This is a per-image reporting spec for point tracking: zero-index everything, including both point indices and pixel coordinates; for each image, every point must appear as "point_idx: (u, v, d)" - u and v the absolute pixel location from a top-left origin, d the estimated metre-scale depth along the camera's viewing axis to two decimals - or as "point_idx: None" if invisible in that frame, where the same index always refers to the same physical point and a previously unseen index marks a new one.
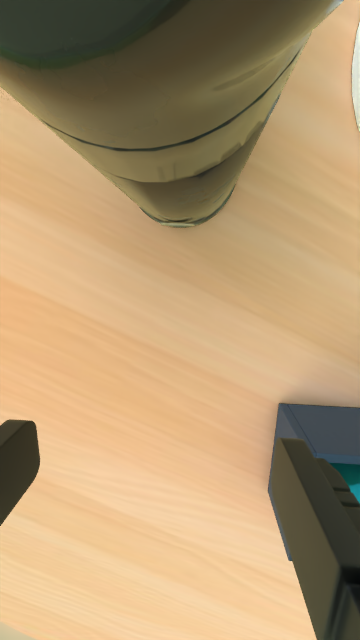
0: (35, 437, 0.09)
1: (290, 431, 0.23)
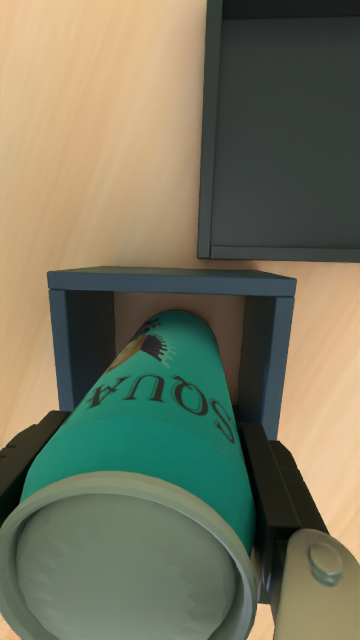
0: None
1: None
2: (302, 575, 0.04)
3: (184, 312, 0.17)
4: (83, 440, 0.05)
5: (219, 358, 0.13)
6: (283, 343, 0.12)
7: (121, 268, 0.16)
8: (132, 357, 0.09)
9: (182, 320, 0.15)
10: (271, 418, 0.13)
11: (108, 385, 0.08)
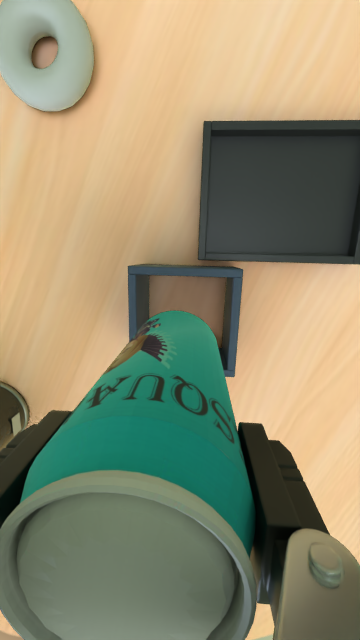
0: None
1: None
2: (302, 575, 0.04)
3: (184, 312, 0.17)
4: (84, 440, 0.05)
5: (219, 358, 0.13)
6: (238, 299, 0.25)
7: None
8: (133, 357, 0.09)
9: (182, 320, 0.15)
10: (233, 337, 0.26)
11: (109, 385, 0.08)
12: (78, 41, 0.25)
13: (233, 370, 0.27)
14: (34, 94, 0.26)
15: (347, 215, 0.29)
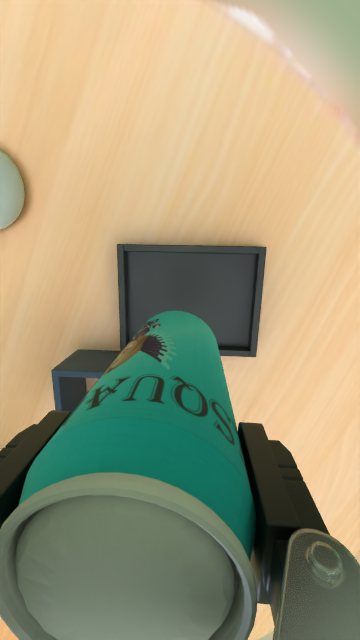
0: None
1: None
2: (302, 575, 0.04)
3: (184, 312, 0.17)
4: (82, 441, 0.05)
5: (219, 359, 0.13)
6: None
7: (85, 356, 0.34)
8: (132, 358, 0.09)
9: (182, 320, 0.15)
10: None
11: (108, 386, 0.08)
12: (7, 185, 0.30)
13: None
14: None
15: (245, 315, 0.34)
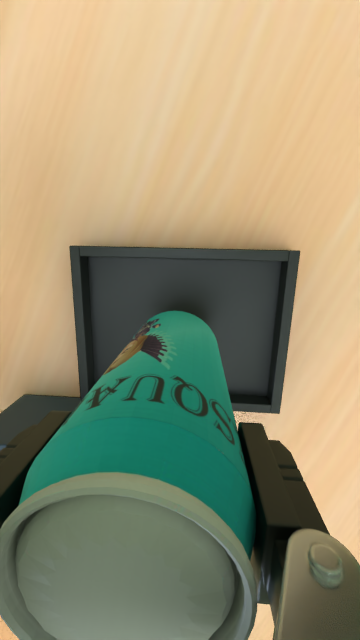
0: None
1: None
2: (302, 575, 0.04)
3: (184, 312, 0.17)
4: (83, 441, 0.05)
5: (219, 358, 0.13)
6: None
7: (29, 409, 0.24)
8: (132, 358, 0.09)
9: (182, 320, 0.15)
10: None
11: (108, 386, 0.08)
12: None
13: None
14: None
15: (264, 350, 0.23)
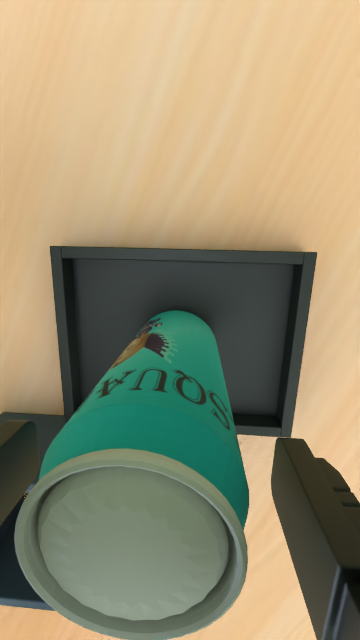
0: (35, 437, 0.09)
1: None
2: None
3: (185, 312, 0.18)
4: (96, 424, 0.06)
5: (218, 356, 0.14)
6: None
7: None
8: (137, 353, 0.10)
9: (183, 320, 0.15)
10: None
11: (116, 378, 0.08)
12: None
13: None
14: None
15: (273, 365, 0.20)
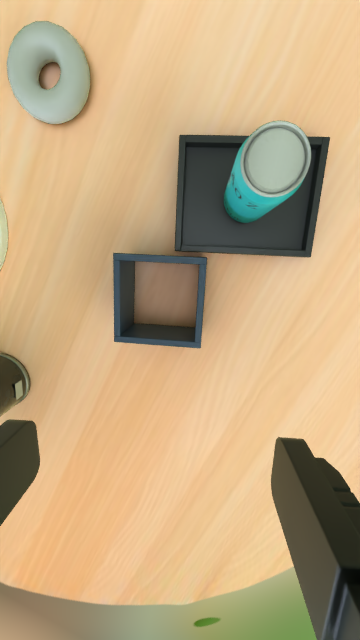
0: (35, 437, 0.09)
1: None
2: None
3: None
4: None
5: None
6: (203, 282, 0.31)
7: None
8: None
9: None
10: (199, 314, 0.32)
11: None
12: (77, 68, 0.30)
13: (199, 342, 0.32)
14: (40, 110, 0.32)
15: (301, 215, 0.34)
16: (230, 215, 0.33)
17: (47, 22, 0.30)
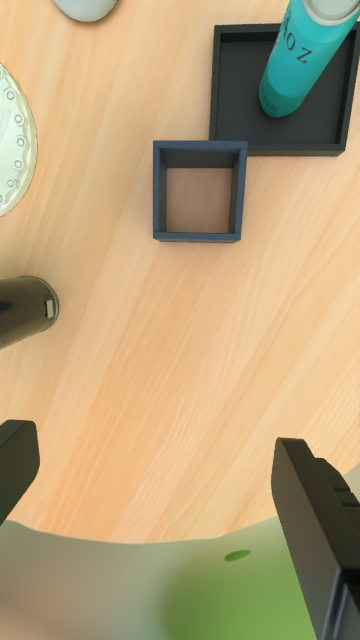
0: (35, 437, 0.09)
1: None
2: None
3: None
4: None
5: None
6: (243, 168, 0.31)
7: None
8: None
9: None
10: (240, 203, 0.32)
11: None
12: None
13: (239, 233, 0.32)
14: (75, 0, 0.31)
15: (334, 111, 0.34)
16: (266, 107, 0.33)
17: None
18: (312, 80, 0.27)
